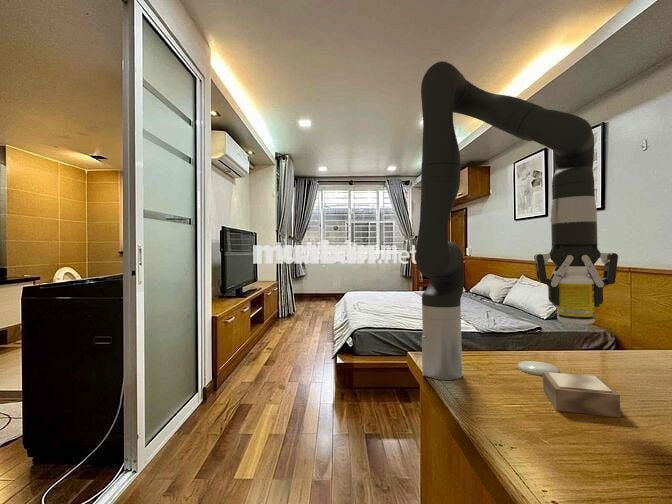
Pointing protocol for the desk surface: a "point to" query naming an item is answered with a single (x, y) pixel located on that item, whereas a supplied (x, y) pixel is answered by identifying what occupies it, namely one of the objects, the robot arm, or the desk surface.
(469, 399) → the desk surface
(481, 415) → the desk surface
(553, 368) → the pale white disc
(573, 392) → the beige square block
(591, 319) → the pill bottle
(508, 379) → the desk surface
